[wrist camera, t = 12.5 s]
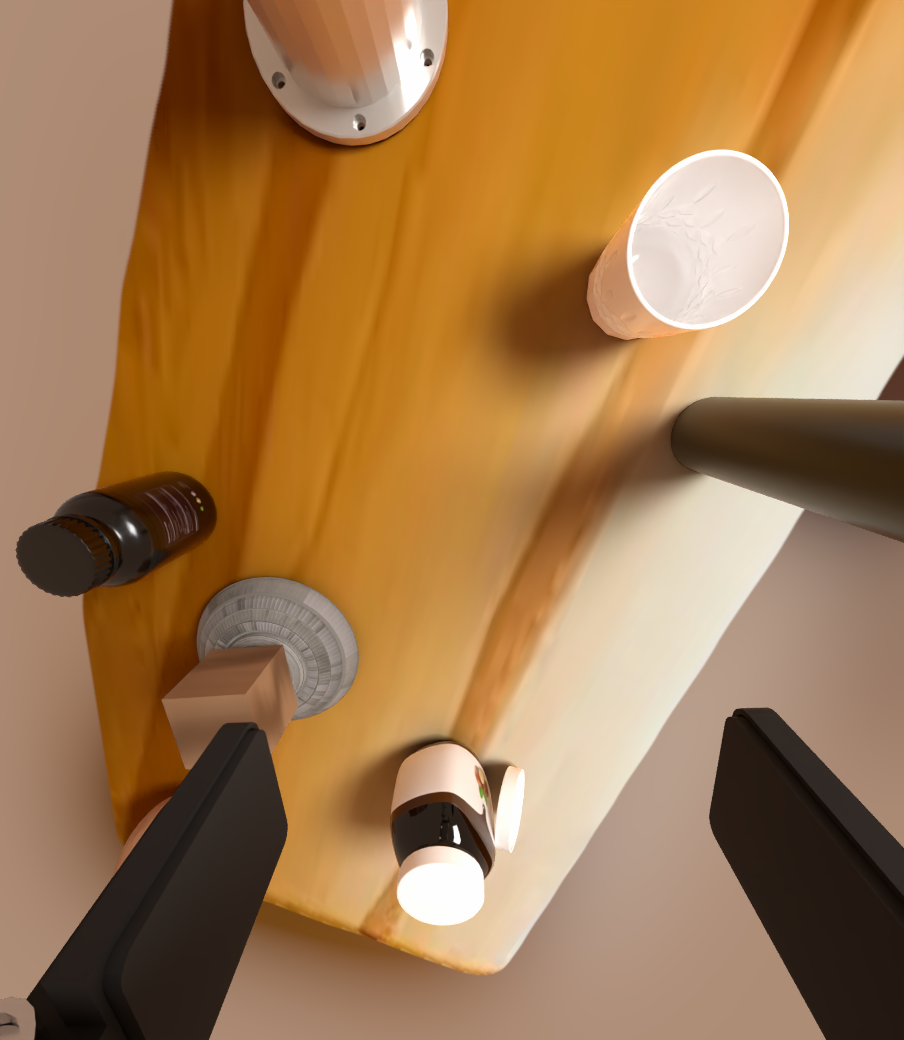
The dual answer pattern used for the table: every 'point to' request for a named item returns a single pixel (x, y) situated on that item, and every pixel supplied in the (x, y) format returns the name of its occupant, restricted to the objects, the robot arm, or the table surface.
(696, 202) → the white cup
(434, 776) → the spread jar
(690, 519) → the table surface
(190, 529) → the supplement bottle
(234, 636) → the flying saucer
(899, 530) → the wine bottle
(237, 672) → the walnut block
